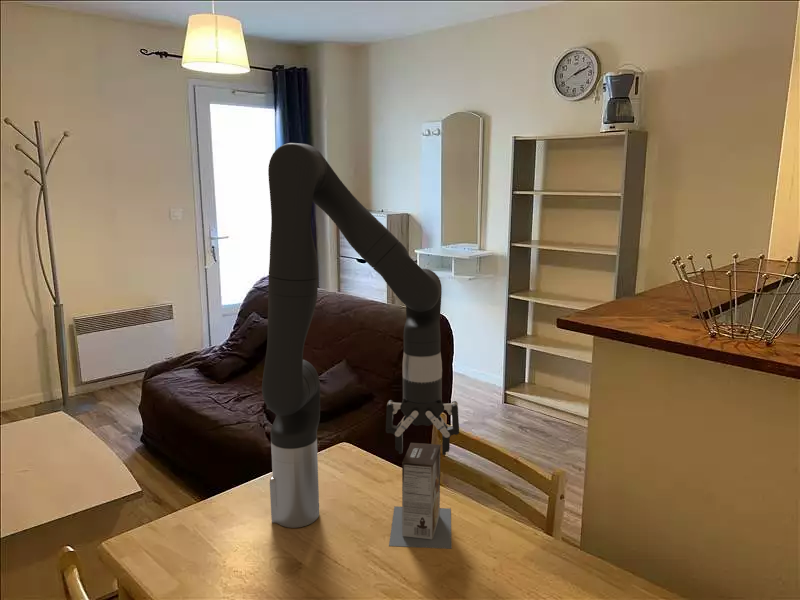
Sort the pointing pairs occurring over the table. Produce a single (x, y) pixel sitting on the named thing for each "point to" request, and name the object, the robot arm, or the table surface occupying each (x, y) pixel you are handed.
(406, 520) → the coffee box
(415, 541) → the mat
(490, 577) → the table surface
